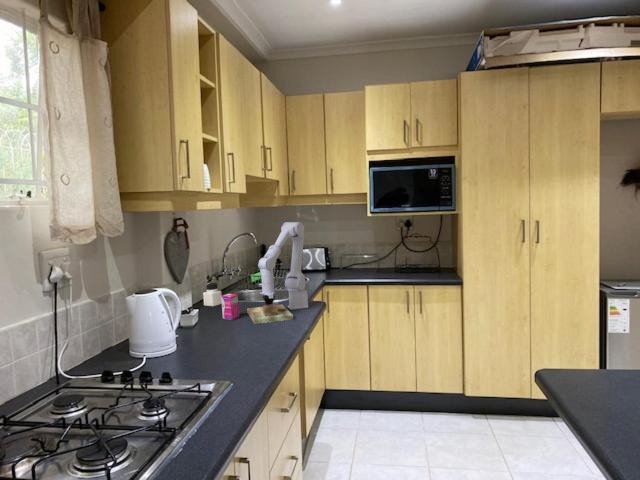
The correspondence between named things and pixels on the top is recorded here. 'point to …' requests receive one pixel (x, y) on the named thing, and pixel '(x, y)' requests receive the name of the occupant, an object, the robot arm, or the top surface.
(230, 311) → the supplement box
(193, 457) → the top surface
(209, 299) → the medicine bottle
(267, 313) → the walnut block
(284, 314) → the trap deck
